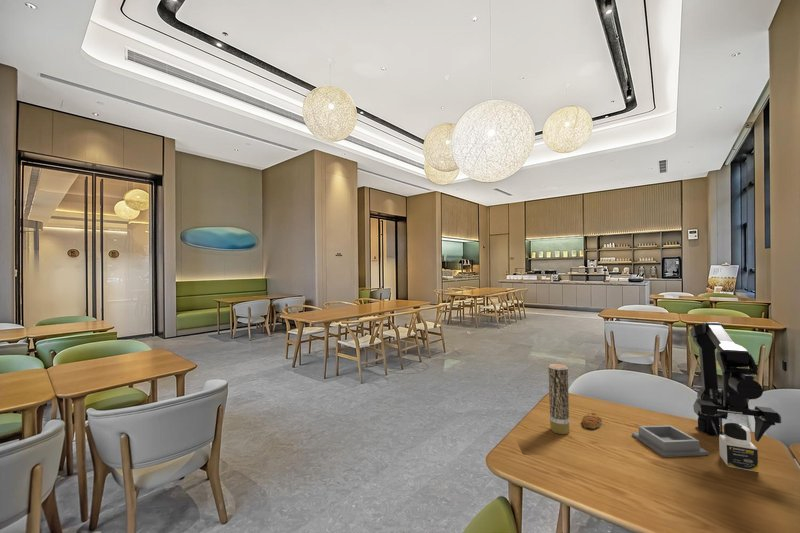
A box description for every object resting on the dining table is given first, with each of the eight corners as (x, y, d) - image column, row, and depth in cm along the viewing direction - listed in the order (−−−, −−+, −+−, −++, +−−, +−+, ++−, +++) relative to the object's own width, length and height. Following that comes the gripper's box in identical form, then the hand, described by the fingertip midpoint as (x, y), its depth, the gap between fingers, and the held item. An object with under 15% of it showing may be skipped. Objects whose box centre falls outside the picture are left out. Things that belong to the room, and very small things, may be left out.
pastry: (598, 432, 133) (598, 422, 133) (579, 427, 137) (578, 417, 137) (603, 423, 140) (602, 413, 140) (584, 419, 144) (584, 410, 144)
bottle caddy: (671, 434, 129) (671, 423, 129) (708, 455, 114) (707, 442, 114) (632, 435, 129) (631, 424, 129) (663, 456, 114) (663, 444, 114)
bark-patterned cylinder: (565, 427, 137) (563, 363, 137) (572, 435, 130) (570, 368, 130) (547, 427, 137) (546, 363, 138) (553, 435, 131) (551, 368, 131)
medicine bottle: (727, 466, 107) (725, 427, 108) (719, 455, 114) (717, 419, 114) (758, 472, 104) (757, 432, 104) (748, 460, 110) (747, 423, 111)
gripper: (762, 384, 113) (764, 432, 112) (689, 377, 121) (691, 422, 120) (781, 395, 102) (783, 448, 102) (700, 387, 111) (702, 437, 110)
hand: (737, 438), depth 109 cm, fingers open, 9 cm apart
